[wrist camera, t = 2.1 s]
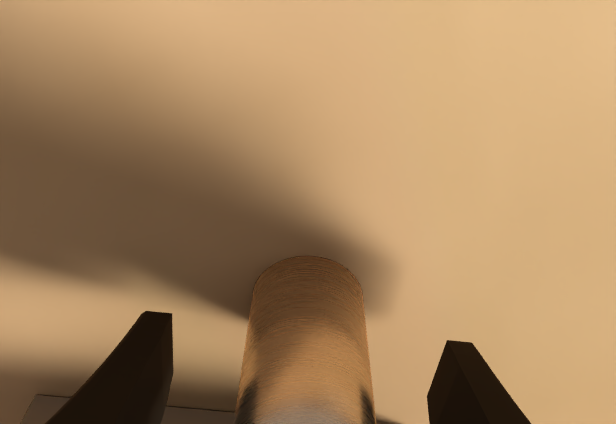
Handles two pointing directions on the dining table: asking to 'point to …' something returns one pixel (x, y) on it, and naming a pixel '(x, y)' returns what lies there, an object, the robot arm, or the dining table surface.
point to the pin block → (174, 420)
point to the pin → (306, 348)
